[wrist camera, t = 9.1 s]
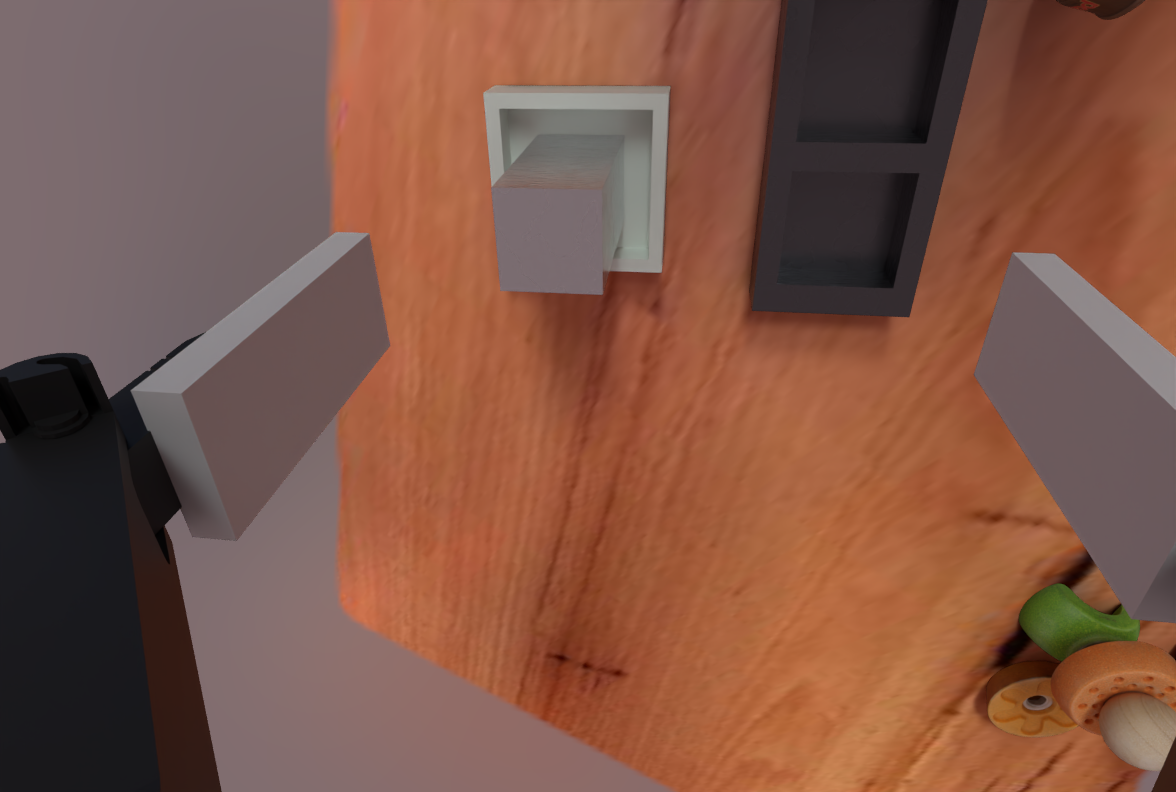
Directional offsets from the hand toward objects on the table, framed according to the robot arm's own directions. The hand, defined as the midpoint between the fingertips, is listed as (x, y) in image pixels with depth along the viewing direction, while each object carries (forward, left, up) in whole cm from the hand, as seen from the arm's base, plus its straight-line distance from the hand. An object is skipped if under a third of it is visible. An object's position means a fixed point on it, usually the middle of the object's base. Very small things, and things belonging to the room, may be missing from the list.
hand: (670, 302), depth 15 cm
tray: (+5, -6, -29) cm, 30 cm away
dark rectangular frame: (+3, +9, -29) cm, 30 cm away
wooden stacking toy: (+44, +36, -29) cm, 64 cm away
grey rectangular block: (+5, -6, -28) cm, 29 cm away
